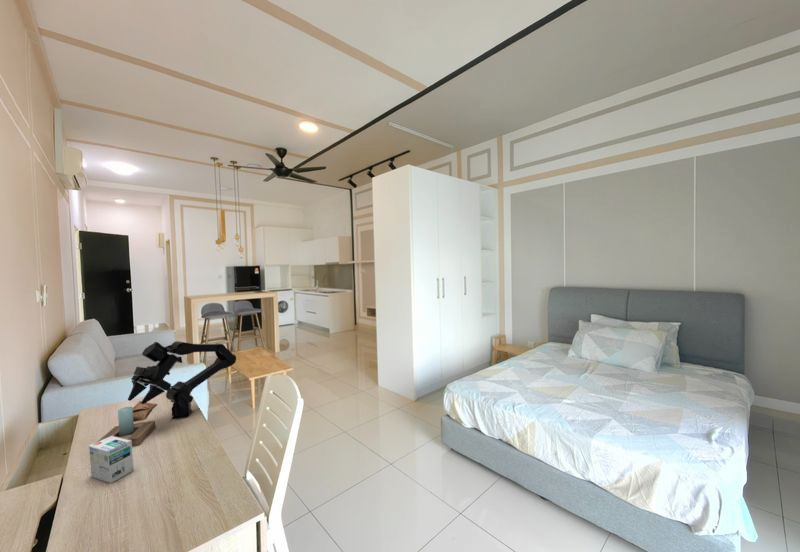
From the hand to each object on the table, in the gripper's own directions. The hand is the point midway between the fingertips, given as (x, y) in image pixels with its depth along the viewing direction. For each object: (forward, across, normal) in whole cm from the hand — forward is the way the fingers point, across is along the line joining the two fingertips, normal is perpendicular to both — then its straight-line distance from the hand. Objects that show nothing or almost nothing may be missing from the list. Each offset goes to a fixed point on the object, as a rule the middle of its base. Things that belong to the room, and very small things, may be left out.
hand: (135, 402), depth 126 cm
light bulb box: (+22, +21, -2) cm, 31 cm away
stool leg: (+12, 0, +7) cm, 14 cm away
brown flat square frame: (+12, 0, +7) cm, 14 cm away
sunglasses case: (+2, -20, +19) cm, 28 cm away
